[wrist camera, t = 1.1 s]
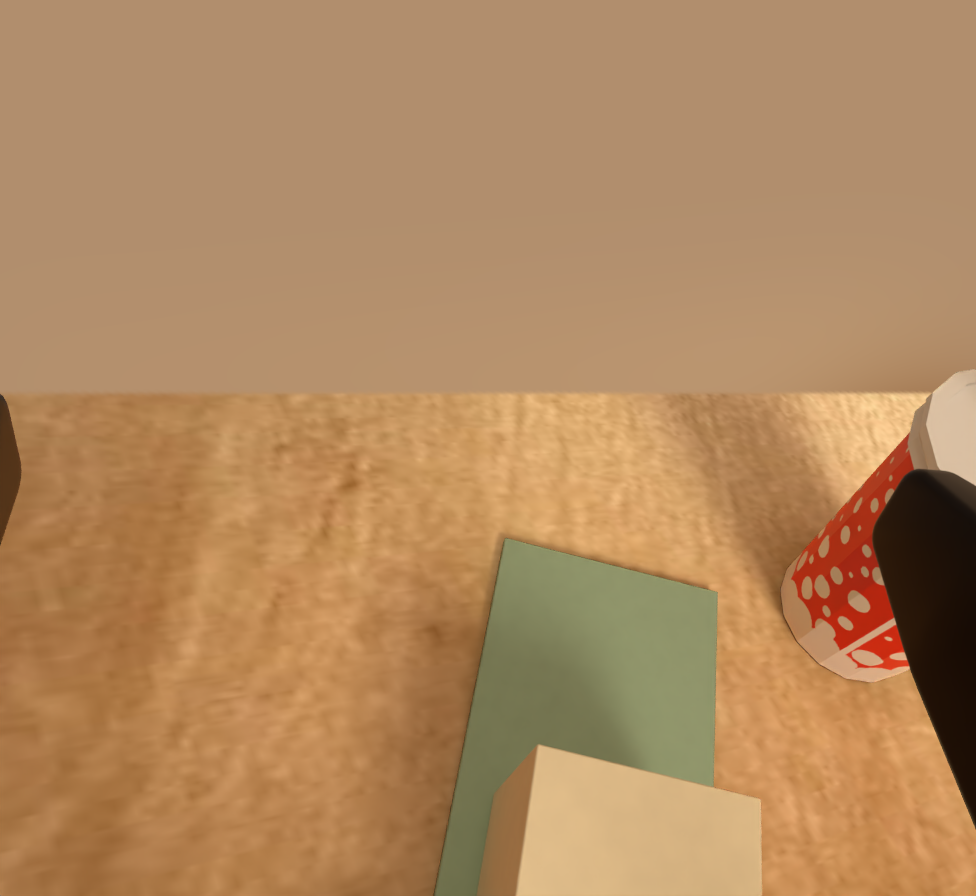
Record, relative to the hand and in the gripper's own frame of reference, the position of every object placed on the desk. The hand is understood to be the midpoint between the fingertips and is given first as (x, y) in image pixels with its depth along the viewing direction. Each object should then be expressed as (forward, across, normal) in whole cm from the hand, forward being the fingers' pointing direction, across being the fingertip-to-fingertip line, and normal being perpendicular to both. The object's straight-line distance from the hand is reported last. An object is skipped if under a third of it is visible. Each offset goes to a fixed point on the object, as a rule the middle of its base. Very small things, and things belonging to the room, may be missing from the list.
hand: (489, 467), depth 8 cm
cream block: (+2, -5, +16) cm, 17 cm away
